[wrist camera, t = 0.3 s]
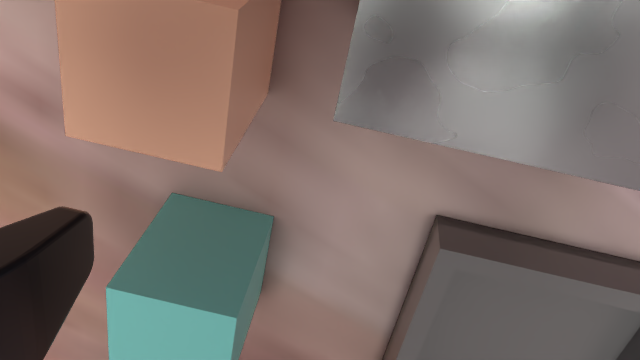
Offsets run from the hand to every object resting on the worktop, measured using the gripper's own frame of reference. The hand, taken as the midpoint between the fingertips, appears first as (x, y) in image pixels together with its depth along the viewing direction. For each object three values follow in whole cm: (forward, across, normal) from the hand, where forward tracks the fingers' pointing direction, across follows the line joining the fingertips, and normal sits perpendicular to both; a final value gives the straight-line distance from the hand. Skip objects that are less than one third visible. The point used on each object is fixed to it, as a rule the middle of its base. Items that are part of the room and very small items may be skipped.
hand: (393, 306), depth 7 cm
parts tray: (+13, -8, +11) cm, 19 cm away
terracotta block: (+13, +6, 0) cm, 14 cm away
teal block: (+13, +6, +10) cm, 17 cm away
